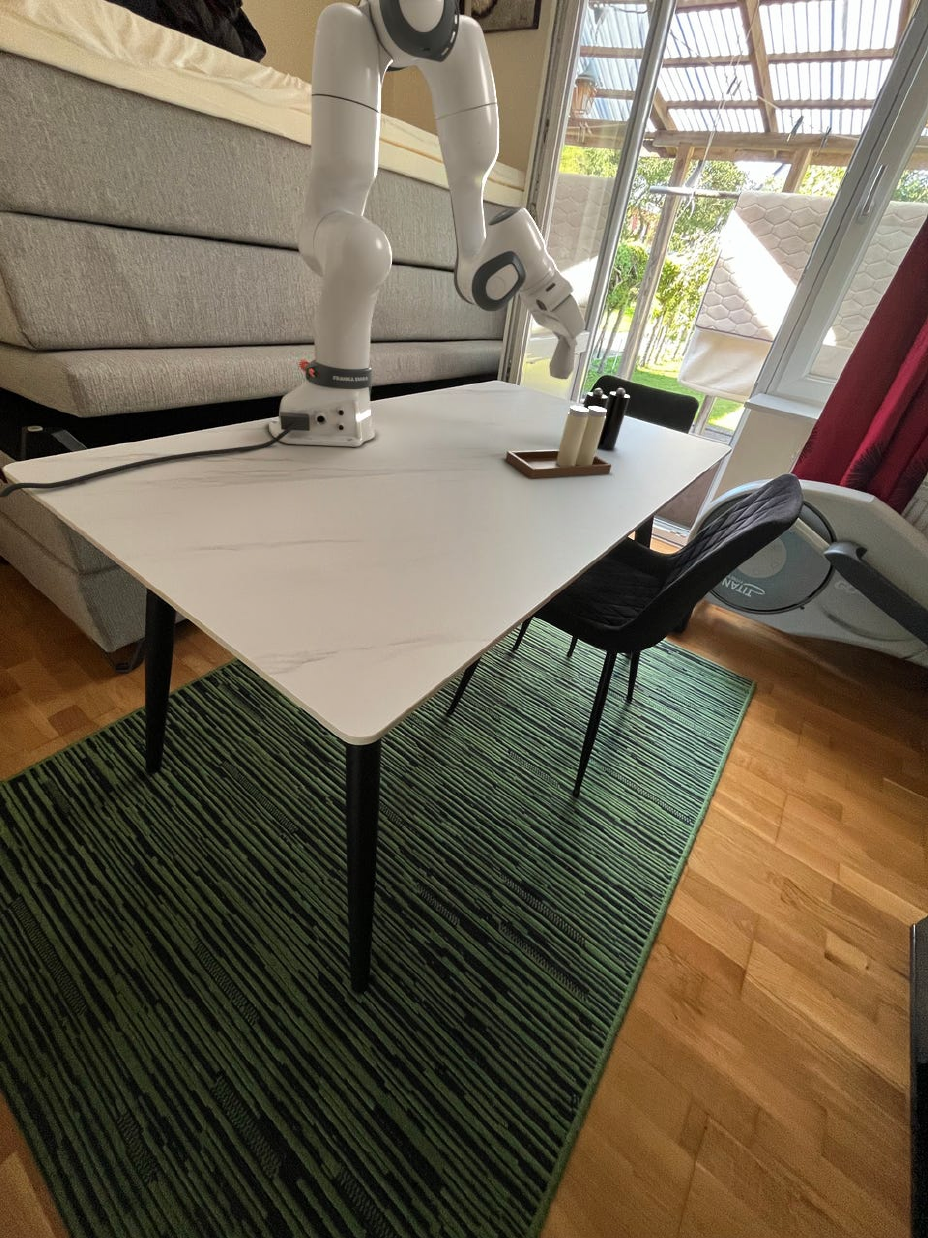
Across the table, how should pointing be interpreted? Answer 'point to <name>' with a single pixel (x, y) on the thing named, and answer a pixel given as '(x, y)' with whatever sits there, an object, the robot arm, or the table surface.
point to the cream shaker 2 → (591, 435)
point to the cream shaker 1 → (572, 436)
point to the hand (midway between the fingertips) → (569, 344)
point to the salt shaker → (562, 360)
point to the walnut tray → (552, 464)
